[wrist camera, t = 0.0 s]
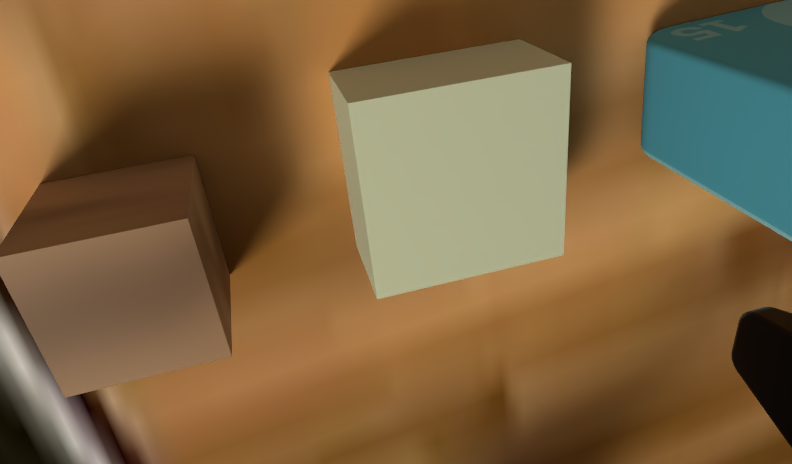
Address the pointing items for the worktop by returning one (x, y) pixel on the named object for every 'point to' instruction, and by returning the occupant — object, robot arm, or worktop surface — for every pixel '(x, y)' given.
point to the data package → (726, 108)
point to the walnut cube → (120, 275)
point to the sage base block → (455, 162)
